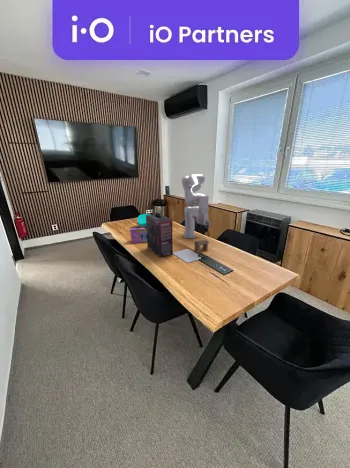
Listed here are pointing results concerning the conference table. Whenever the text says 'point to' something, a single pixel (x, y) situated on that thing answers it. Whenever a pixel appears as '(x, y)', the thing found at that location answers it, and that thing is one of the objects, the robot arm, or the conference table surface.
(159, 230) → the headset box
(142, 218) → the table top decor
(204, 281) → the conference table surface
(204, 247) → the walnut stool
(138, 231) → the gum box
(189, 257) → the grey pad
